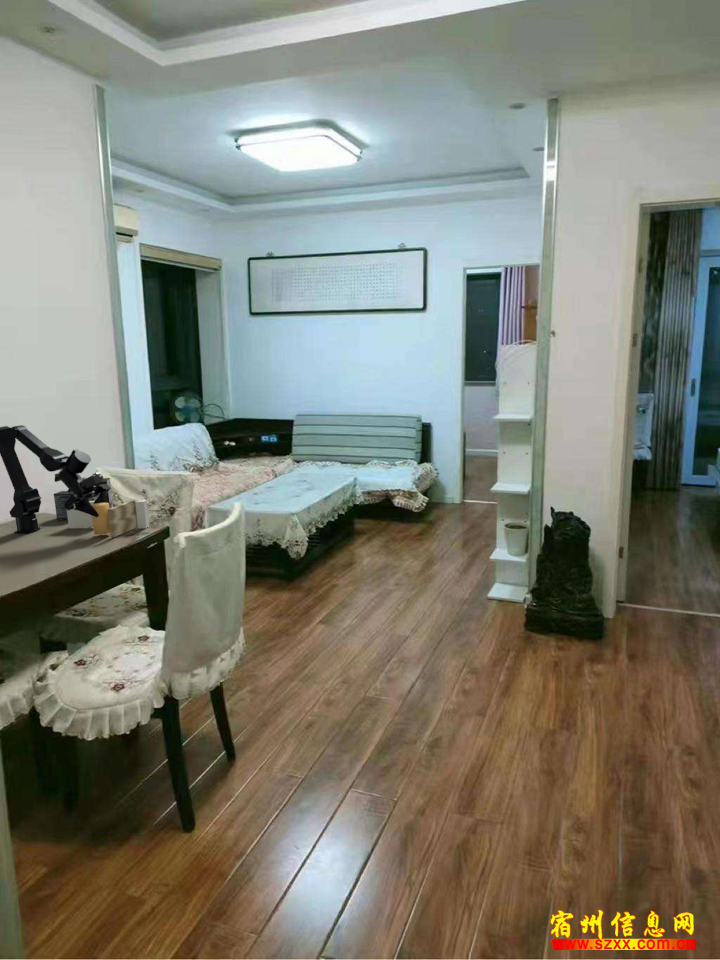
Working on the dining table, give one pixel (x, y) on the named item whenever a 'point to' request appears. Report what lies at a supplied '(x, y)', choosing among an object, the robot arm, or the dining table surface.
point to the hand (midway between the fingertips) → (103, 514)
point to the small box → (61, 504)
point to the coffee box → (109, 494)
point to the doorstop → (101, 519)
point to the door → (122, 518)
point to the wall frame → (85, 519)
